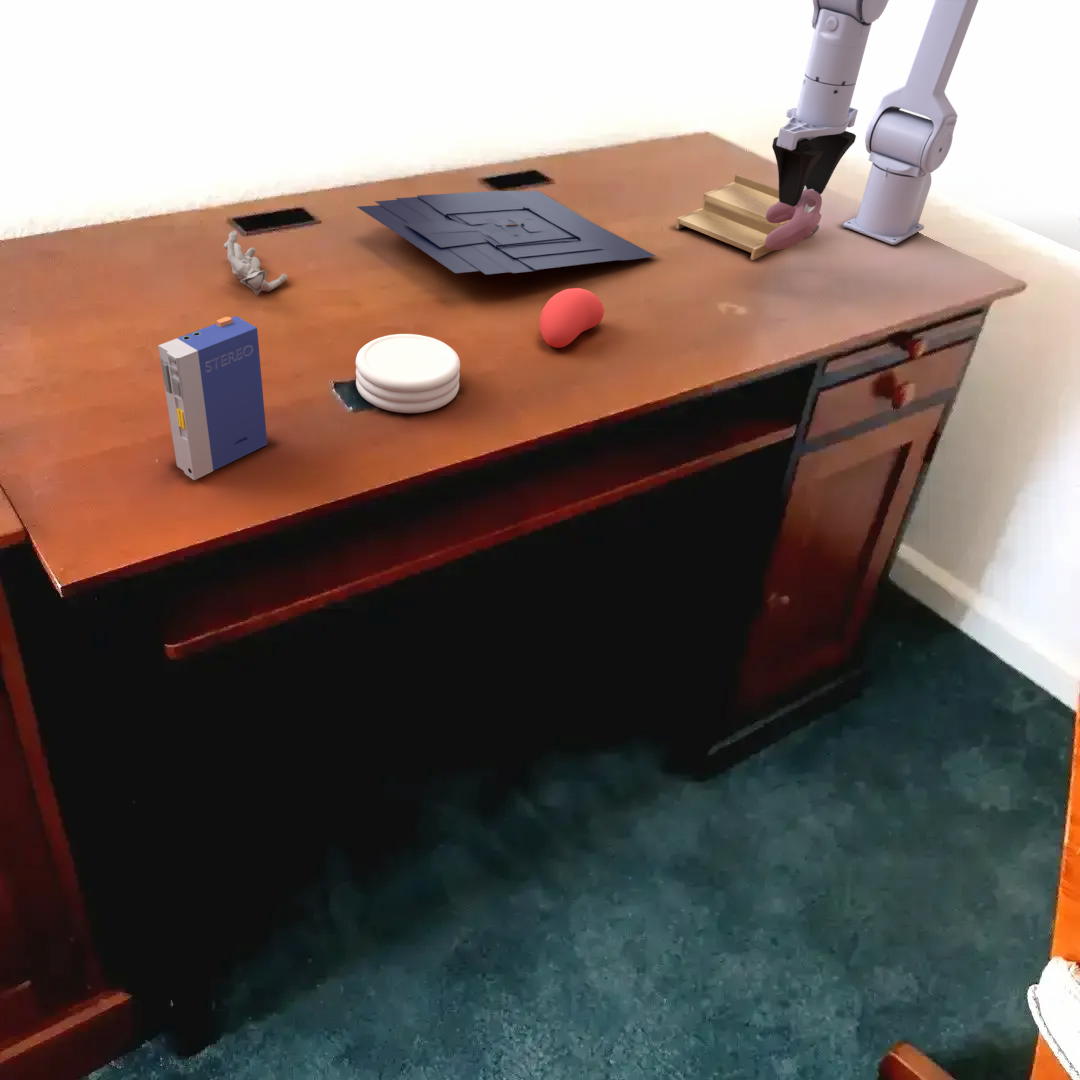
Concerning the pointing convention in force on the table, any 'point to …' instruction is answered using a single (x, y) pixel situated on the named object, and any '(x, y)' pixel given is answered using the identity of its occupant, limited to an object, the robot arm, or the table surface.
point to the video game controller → (794, 220)
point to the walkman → (214, 395)
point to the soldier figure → (249, 267)
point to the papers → (500, 231)
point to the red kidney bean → (569, 316)
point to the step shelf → (736, 215)
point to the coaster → (407, 373)
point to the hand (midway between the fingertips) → (800, 197)
